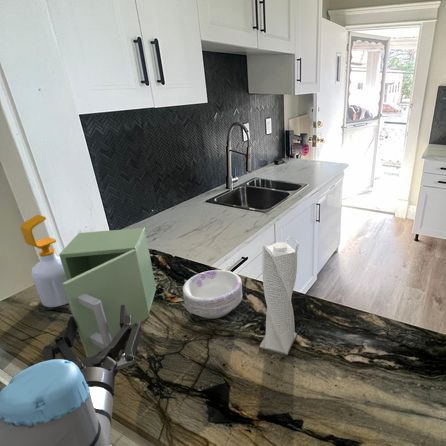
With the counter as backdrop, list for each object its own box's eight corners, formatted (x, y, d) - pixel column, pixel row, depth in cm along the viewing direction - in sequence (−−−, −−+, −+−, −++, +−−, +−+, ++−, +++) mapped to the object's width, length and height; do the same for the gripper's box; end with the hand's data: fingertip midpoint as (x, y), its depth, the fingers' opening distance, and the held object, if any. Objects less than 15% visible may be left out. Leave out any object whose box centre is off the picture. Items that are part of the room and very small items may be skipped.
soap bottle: (88, 293, 91) (65, 215, 81) (54, 311, 84) (24, 227, 74) (68, 285, 95) (44, 209, 85) (35, 302, 87) (3, 221, 77)
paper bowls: (213, 285, 96) (210, 263, 93) (253, 301, 89) (252, 277, 86) (173, 314, 83) (169, 289, 80) (217, 334, 77) (214, 308, 74)
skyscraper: (302, 335, 77) (305, 232, 66) (291, 360, 70) (293, 249, 59) (270, 328, 79) (268, 227, 68) (257, 351, 72) (252, 243, 61)
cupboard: (149, 314, 83) (135, 247, 75) (81, 323, 80) (58, 254, 72) (156, 288, 94) (144, 227, 86) (96, 295, 90) (78, 232, 82)
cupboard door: (165, 323, 80) (153, 255, 72) (106, 369, 67) (83, 292, 59) (147, 315, 83) (133, 249, 75) (86, 357, 69) (62, 283, 62)
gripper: (6, 448, 46) (43, 344, 65) (163, 394, 55) (156, 315, 74) (-13, 414, 43) (32, 315, 62) (156, 362, 52) (150, 289, 71)
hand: (99, 315), depth 68 cm, fingers open, 9 cm apart
